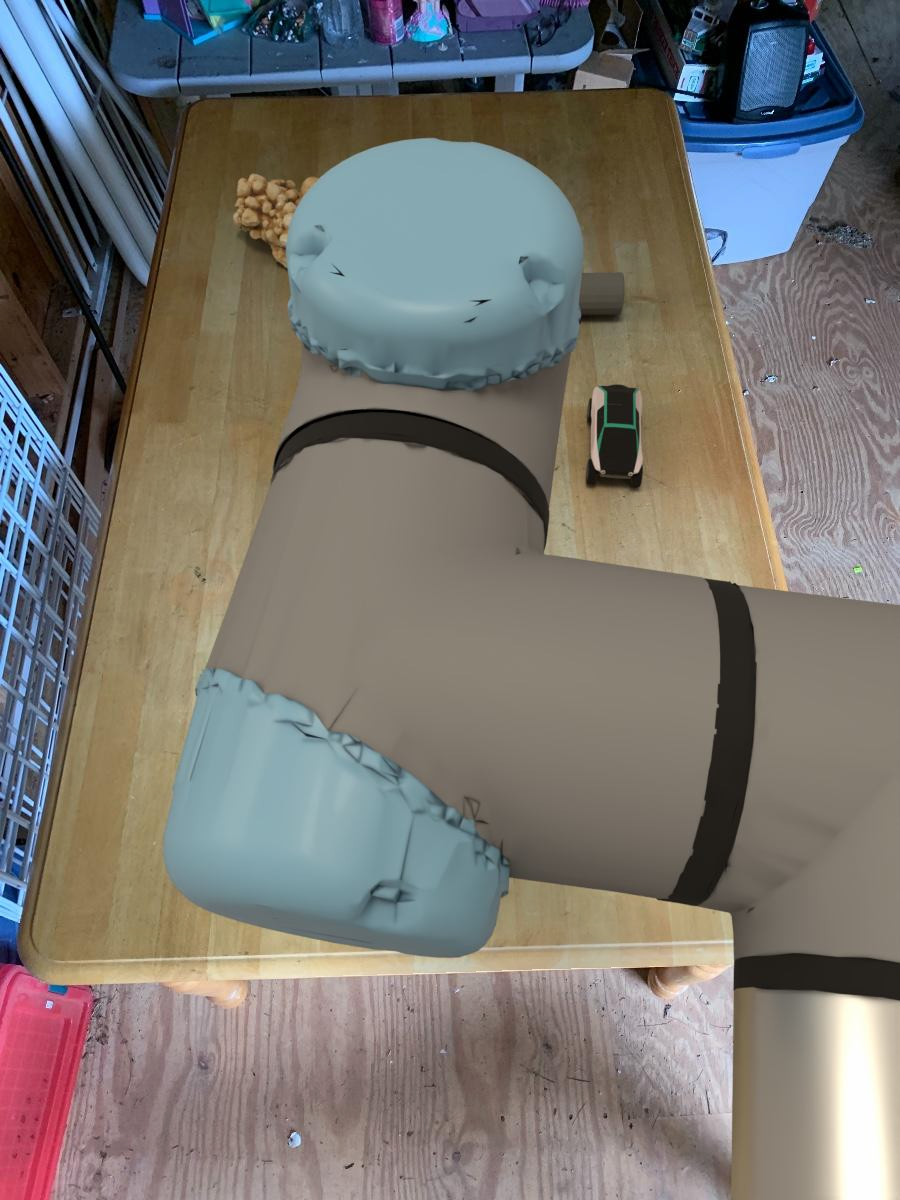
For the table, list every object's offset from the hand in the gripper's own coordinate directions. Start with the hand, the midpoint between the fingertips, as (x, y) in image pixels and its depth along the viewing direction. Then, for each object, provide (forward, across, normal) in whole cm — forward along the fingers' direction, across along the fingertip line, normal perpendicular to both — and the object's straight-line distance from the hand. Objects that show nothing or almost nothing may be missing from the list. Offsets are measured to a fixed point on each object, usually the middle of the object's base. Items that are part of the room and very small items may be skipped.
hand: (445, 730), depth 54 cm
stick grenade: (+26, +3, -64) cm, 69 cm away
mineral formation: (+26, +33, -74) cm, 85 cm away
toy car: (+26, -12, -45) cm, 53 cm away
